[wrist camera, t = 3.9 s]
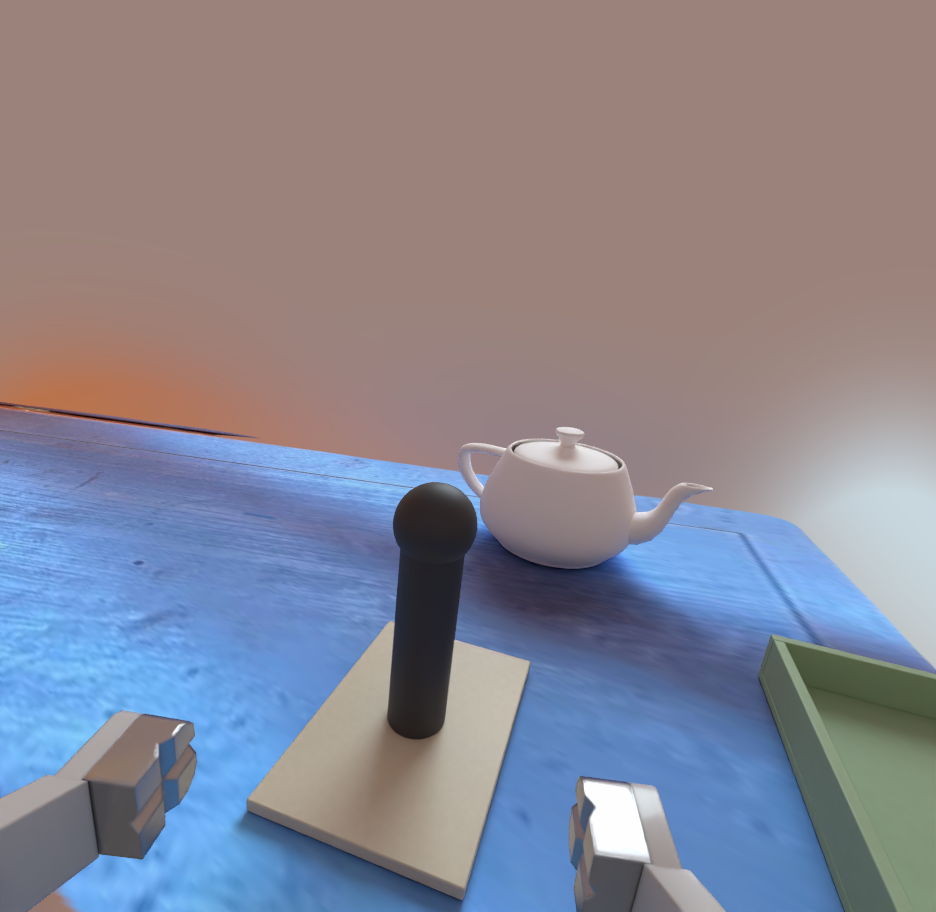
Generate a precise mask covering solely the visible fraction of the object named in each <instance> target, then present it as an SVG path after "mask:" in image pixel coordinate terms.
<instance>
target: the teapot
mask: <svg viewBox="0 0 936 912" xmlns="http://www.w3.org/2000/svg"><path fill="white" fill-rule="evenodd" d="M555 431H556V434H557V436H558V437H559V439H560V440H554V439H525V440H519V441H516V442H514V443H512V444H511V445H509V446H508V448H507V449H506V448H502V447H497V446H493V445H487V444H481V443H470V444H466V445H464V446H462V448H461V449H460V450H459V453H458V464H459V468H460V472H461V474H462V476H463V478H464V480H465V481H466V483H467V484H468V486H469V487H470V488H471V489H472V491H473V492H474V493H475V494H476V495H477V496H478V497H479V498H480V514H481V517H482V520H483V522H484V524H485V525H486V527H487V529H488V530H489V531H490V533H491V534H492V535H493V536H494V537H495V538H496V539H497V540H498V541H499V543H500V544H501V545H502V546H503V547H504V548H506V549H507V550H508V551H510V552H511V553H513V554H515V555H517V556H519V557H521V558H523V559H526V560H528V561H531V562H534V563H538V564H541V565H545V566H551V567H556V568H566V569H579V568H588V567H592V566H595V565H598V564H600V563H602V562H604V561H606V560H608V559H610V558H612V557H614V556H616V555H618V554H620V553H621V552H622V551H623V550H624V549H625V548H626V547H627V546H628V545H638V544H641V543H645V542H648V541H651V540H652V539H653V538H655V537H656V536H657V535H658V534H660V533H661V532H662V530H663V529H664V528H665V526H666V525H667V524H668V522H669V521H670V519H671V518H672V516H673V514H674V513H675V511H676V510H677V509H678V507H679V506H680V505H681V503H682V502H684V501H685V500H686V499H687V498H689V497H690V496H692V495H695V494H699V493H702V492H706V491H711V490H713V489H712V488H710V487H706V486H703V485H698V484H693V483H681V484H678V485H676V486H675V487H673V488H671V489H670V491H668V493H667V494H666V495H665V497H664V498H663V499H662V501H661V502H660V504H659V505H658V506H657V507H656V508H655V509H653V510H651V511H649V512H636V504H635V498H634V494H633V489H632V486H631V482H630V478H629V474H628V471H627V468H626V465H625V463H624V462H623V461H622V460H621V459H620V458H619V457H617V456H616V455H614V454H612V453H610V452H607V451H605V450H602V449H598V448H596V447H592V446H588V445H584V444H580V443H577V442H578V441H579V440H580V439H582V438H583V437H584V432H583V431H581V430H578V429H575V428H570V427H560V428H557V429H556V430H555ZM472 452H481V453H486V454H490V455H495V456H499V457H501V458H500V459H499V461H498V463H497V464H496V466H495V468H494V469H493V471H492V473H491V475H490V476H489V478H488V480H487V482H486V484H485V487H484V486H483V485H482V484H481V483H480V482H479V480H478V479H477V477H476V475H475V473H474V471H473V469H472V466H471V461H470V454H471V453H472Z"/></svg>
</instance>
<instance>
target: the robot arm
mask: <svg viewBox="0 0 936 912" xmlns="http://www.w3.org/2000/svg"><path fill="white" fill-rule="evenodd" d="M194 736H195V732H194V724H193V723H192V722H189V721H185V720H179V719H173V718H167V717H161V716H155V715H150V714H142V713H136V712H130V711H124V710H122V711H120V712H118V713H116V714H114V715H113V716H112V717H111V718H110V719H109V720H108V721H107V722H106V723H105V724H104V725H103V726H102V727H101V728H100V729H99V730H98V731H97V732H96V733H95V734H94V735H93V736H92V737H91V738H90V739H89V740H88V741H87V742H86V743H85V744H84V745H83V746H82V747H81V748H80V749H79V751H78V752H77V753H76V754H75V755H74V756H73V757H72V758H71V759H70V760H69V761H68V762H67V763H66V764H65V765H64V766H63V767H62V768H61V769H60V770H59V771H58V772H57V773H56V774H55V775H54V776H51V775H46V776H44V777H42V778H40V779H38V780H36V781H34V782H32V783H30V784H28V785H26V786H24V787H22V788H20V789H18V790H16V791H14V792H12V793H10V794H8V795H6V796H4V797H2V798H0V912H27V911H29V910H30V909H31V908H32V907H34V906H35V905H36V904H38V903H39V902H40V901H42V900H43V899H44V898H46V897H47V896H48V895H50V894H51V893H52V892H54V891H55V890H56V889H58V888H59V887H60V886H61V885H63V884H64V883H65V882H67V881H68V880H69V879H71V878H72V877H73V876H75V875H76V874H77V873H78V872H80V871H81V870H82V869H84V868H85V867H86V866H88V865H89V864H90V863H92V862H93V861H94V860H96V859H97V858H98V857H99V854H102V855H110V856H119V857H127V858H136V859H143V858H144V857H145V855H146V854H147V852H148V851H149V849H150V848H151V846H152V845H153V843H154V842H155V840H156V839H157V837H158V836H159V834H160V833H161V831H162V830H163V828H164V827H165V813H166V812H168V811H169V810H171V809H172V808H174V807H176V806H177V805H179V804H180V802H181V801H182V799H183V797H184V796H185V794H186V793H187V791H188V789H189V787H190V784H191V782H192V779H193V777H194V774H195V769H196V763H197V761H196V752H195V751H194V749H193V748H192V747H191V746H190V744H189V743H190V742H191V740H192V739H193V738H194ZM576 798H577V803H576V804H575V805H574V806H573V807H572V810H571V816H570V824H569V850H570V860H571V863H572V865H573V866H574V868H575V869H576V870H577V873H576V878H575V883H574V895H575V903H576V912H726V911H725V910H724V909H723V907H722V906H721V905H720V904H719V903H718V902H717V901H716V899H715V898H714V897H713V896H712V895H711V894H710V893H709V891H708V890H707V889H706V888H705V887H704V886H703V885H702V883H701V882H700V881H699V880H698V879H697V878H696V877H695V875H694V874H693V873H692V872H691V871H690V870H685V869H682V867H681V864H680V860H679V857H678V854H677V851H676V848H675V844H674V841H673V838H672V835H671V832H670V829H669V825H668V822H667V819H666V816H665V813H664V809H663V806H662V803H661V800H660V797H659V794H658V791H657V789H656V788H655V787H654V786H651V785H644V784H636V783H627V782H623V781H615V780H607V779H600V778H592V777H584V776H580V777H579V779H578V781H577V785H576Z"/></svg>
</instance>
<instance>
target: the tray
mask: <svg viewBox="0 0 936 912" xmlns="http://www.w3.org/2000/svg"><path fill="white" fill-rule="evenodd" d="M758 676H759V678H760V681H761V684H762V687H763V689H764V692H765V695H766V698H767V700H768V703H769V706H770V708H771V711H772V714H773V717H774V719H775V722H776V725H777V728H778V730H779V733H780V736H781V739H782V741H783V744H784V747H785V750H786V752H787V755H788V758H789V760H790V763H791V766H792V769H793V771H794V774H795V777H796V780H797V782H798V785H799V788H800V791H801V793H802V796H803V799H804V801H805V804H806V807H807V810H808V812H809V815H810V818H811V821H812V823H813V826H814V829H815V832H816V834H817V837H818V840H819V842H820V845H821V848H822V851H823V853H824V856H825V859H826V862H827V864H828V867H829V870H830V873H831V875H832V878H833V881H834V884H835V886H836V889H837V892H838V894H839V897H840V900H841V903H842V905H843V908H844V911H845V912H936V674H933V673H929V672H924V671H920V670H916V669H912V668H908V667H904V666H900V665H896V664H892V663H888V662H884V661H880V660H875V659H871V658H867V657H863V656H859V655H855V654H851V653H847V652H843V651H839V650H835V649H830V648H826V647H822V646H818V645H814V644H810V643H806V642H802V641H798V640H794V639H790V638H786V637H781V636H777V635H773V634H771V637H770V640H769V643H768V646H767V649H766V652H765V655H764V659H763V662H762V665H761V669H760V671H759V674H758Z"/></svg>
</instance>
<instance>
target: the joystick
mask: <svg viewBox="0 0 936 912" xmlns="http://www.w3.org/2000/svg"><path fill="white" fill-rule="evenodd" d="M393 531H394V536H395V539H396V542H397V544H398V546H399V547H400V562H399V574H398V587H397V599H396V612H395V622H391V621H389V622H388V623H387V625H386V626H385V627H384V628H383V630H382V631H381V632H380V633H379V635H378V636H377V637H376V638H375V640H374V641H373V642H372V643H371V645H370V646H369V647H368V648H367V650H366V651H365V652H364V653H363V655H362V656H361V657H360V658H359V660H358V661H357V662H356V663H355V665H354V666H353V667H352V668H351V670H350V671H349V672H348V673H347V675H346V676H345V677H344V678H343V680H342V681H341V682H340V683H339V685H338V686H337V687H336V688H335V690H334V691H333V692H332V693H331V695H330V696H329V697H328V699H327V700H326V701H325V702H324V704H323V705H322V706H321V707H320V709H319V710H318V711H317V712H316V714H315V715H314V716H313V717H312V719H311V720H310V721H309V722H308V724H307V725H306V726H305V727H304V729H303V730H302V731H301V732H300V734H299V735H298V736H297V737H296V739H295V740H294V741H293V742H292V744H291V745H290V746H289V747H288V749H287V750H286V751H285V752H284V754H283V755H282V756H281V757H280V759H279V760H278V761H277V762H276V764H275V765H274V766H273V767H272V769H271V770H270V771H269V772H268V774H267V775H266V776H265V777H264V779H263V780H262V781H261V782H260V784H259V785H258V786H257V787H256V789H255V790H254V791H253V792H252V794H251V795H250V796H249V797H248V799H247V810H248V811H250V812H252V813H255V814H257V815H259V816H262V817H264V818H266V819H269V820H271V821H274V822H276V823H278V824H281V825H283V826H286V827H288V828H290V829H293V830H295V831H297V832H300V833H302V834H305V835H307V836H309V837H312V838H314V839H317V840H319V841H321V842H324V843H326V844H328V845H331V846H333V847H336V848H338V849H340V850H343V851H345V852H348V853H350V854H352V855H355V856H357V857H359V858H362V859H364V860H367V861H369V862H371V863H374V864H376V865H379V866H381V867H383V868H386V869H388V870H390V871H393V872H395V873H398V874H400V875H402V876H405V877H407V878H410V879H412V880H414V881H417V882H419V883H421V884H424V885H426V886H429V887H431V888H433V889H436V890H438V891H441V892H443V893H445V894H448V895H450V896H452V897H455V898H457V899H460V900H463V899H464V896H465V893H466V889H467V886H468V882H469V879H470V875H471V872H472V868H473V865H474V861H475V858H476V854H477V851H478V847H479V844H480V840H481V837H482V833H483V830H484V826H485V823H486V819H487V816H488V812H489V809H490V805H491V802H492V798H493V795H494V791H495V788H496V784H497V781H498V777H499V774H500V770H501V767H502V763H503V760H504V756H505V753H506V749H507V746H508V742H509V739H510V735H511V732H512V728H513V725H514V721H515V718H516V714H517V711H518V707H519V704H520V700H521V697H522V693H523V690H524V686H525V683H526V680H527V676H528V673H529V669H530V661H527V660H523V659H520V658H516V657H513V656H509V655H506V654H502V653H499V652H496V651H492V650H489V649H485V648H482V647H478V646H475V645H471V644H468V643H464V642H461V641H457V640H455V631H456V623H457V614H458V606H459V598H460V589H461V581H462V572H463V564H464V556H465V554H466V553H467V552H468V550H469V549H470V548H471V546H472V544H473V542H474V539H475V537H476V532H477V516H476V512H475V509H474V507H473V505H472V503H471V501H470V500H469V499H468V497H467V496H466V495H465V494H464V493H463V492H462V491H460V490H459V489H457V488H456V487H454V486H451V485H449V484H445V483H439V482H431V483H426V484H422V485H420V486H417V487H415V488H414V489H412V490H411V491H409V492H408V493H407V494H406V495H405V496H404V497H403V498H402V500H401V501H400V503H399V504H398V506H397V508H396V511H395V514H394V519H393Z"/></svg>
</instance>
